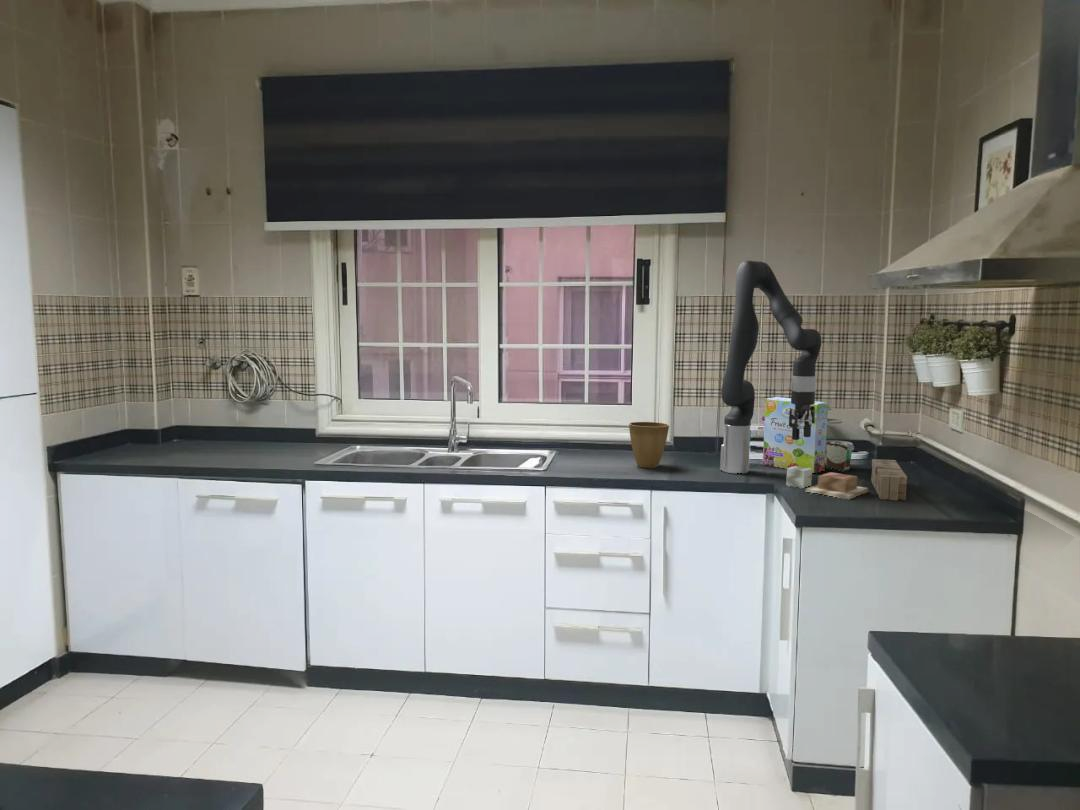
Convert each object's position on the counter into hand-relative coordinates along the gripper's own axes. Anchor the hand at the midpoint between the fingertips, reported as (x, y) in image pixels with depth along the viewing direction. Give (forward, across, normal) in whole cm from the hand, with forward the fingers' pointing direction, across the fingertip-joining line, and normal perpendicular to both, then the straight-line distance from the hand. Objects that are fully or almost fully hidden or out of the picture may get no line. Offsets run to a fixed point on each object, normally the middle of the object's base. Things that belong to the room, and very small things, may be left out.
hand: (801, 438), depth 260 cm
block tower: (+17, -15, +23) cm, 32 cm away
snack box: (+16, -27, -15) cm, 35 cm away
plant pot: (+16, +9, -55) cm, 58 cm away
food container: (+16, -40, -2) cm, 43 cm away
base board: (+16, 0, +13) cm, 21 cm away
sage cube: (+16, 0, 0) cm, 16 cm away
